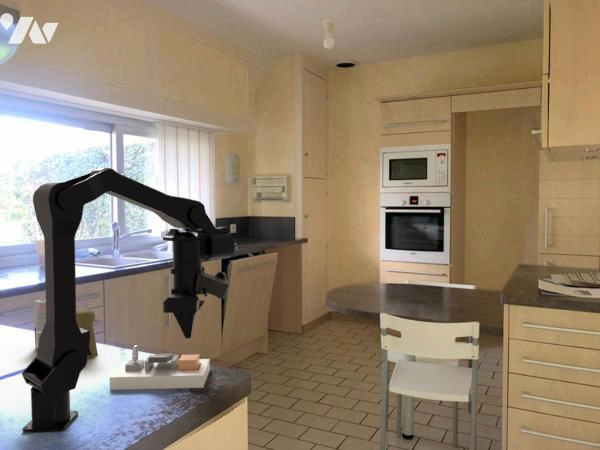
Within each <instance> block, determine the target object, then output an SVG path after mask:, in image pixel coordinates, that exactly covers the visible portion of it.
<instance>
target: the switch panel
mask: <svg viewBox="0 0 600 450" xmlns="http://www.w3.org/2000/svg"><path fill="white" fill-rule="evenodd" d="M154 355H155V354H154ZM154 355H153V354H150V355H148V357H147V358H146V359H145V360H144V359H138V360H137V361H133V360H132V359H130V360H124V361H123V362H122V363H121V364H120V365H119V367H117V369H115V370H114V372H113V373H112V374H111V375H110V376H109V391H118V390H119V391H120V390H121V391H122V390H124V391H125V390H128V391H129V390H159V389H161V390H162V389H164V390H165V389H169V390H170V389H204V387H205V384H206V381H207V379H208V376H209V374H210V371H211V370H210V366H211V365H210V364H211V363H210V362H211V361H210V360H211V359H210V358H199V365H200V368H199V370H196V371H179V359H180V357H179V356H180V355H179V354H175V355H174V357H173V359H172V360H171V361H169V362H167V363H148V358H149V357H151V356H154Z"/></svg>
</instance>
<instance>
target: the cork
mask: <svg viewBox="0 0 600 450" xmlns="http://www.w3.org/2000/svg"><path fill="white" fill-rule="evenodd" d="M95 314H96V313H95V312H94V310H92V309H87V308H83V309H78V310H77V309H76V319H77V323H78V326H79V327H80V328H83V329H85V330H88V331H90V342H89V348H90V352H91V354H92V355H91V356H90V355H87V356H88V359H87V360H90V359H94V358H96V357H98V355H99V354H98V348H97V342H96V336H95V330H94V329H95V328H94V324H93V323H94V322H95V318H96V315H95Z"/></svg>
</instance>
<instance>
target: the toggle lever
mask: <svg viewBox="0 0 600 450" xmlns="http://www.w3.org/2000/svg"><path fill="white" fill-rule="evenodd" d="M139 351H140V347H139V345H137V344H136V345H134V346H133V347H132V351H131V360H133V361H137V360H139Z"/></svg>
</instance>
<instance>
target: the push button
mask: <svg viewBox="0 0 600 450" xmlns="http://www.w3.org/2000/svg"><path fill="white" fill-rule="evenodd" d="M199 359H200V354H181V356H180V357H179V371H196V370H199V368H200V365H199Z"/></svg>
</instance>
